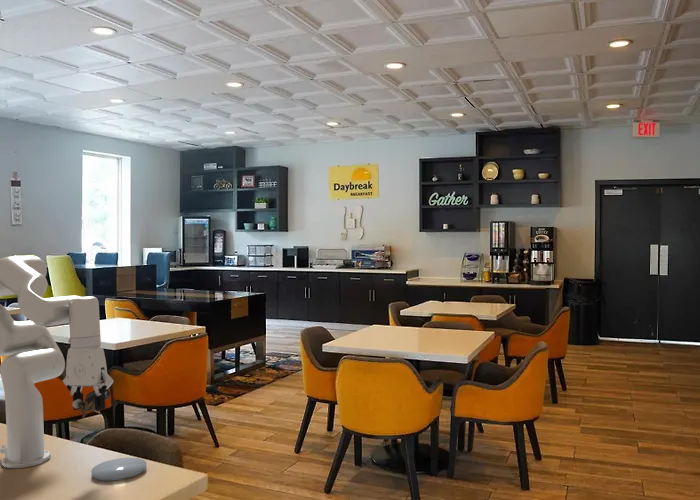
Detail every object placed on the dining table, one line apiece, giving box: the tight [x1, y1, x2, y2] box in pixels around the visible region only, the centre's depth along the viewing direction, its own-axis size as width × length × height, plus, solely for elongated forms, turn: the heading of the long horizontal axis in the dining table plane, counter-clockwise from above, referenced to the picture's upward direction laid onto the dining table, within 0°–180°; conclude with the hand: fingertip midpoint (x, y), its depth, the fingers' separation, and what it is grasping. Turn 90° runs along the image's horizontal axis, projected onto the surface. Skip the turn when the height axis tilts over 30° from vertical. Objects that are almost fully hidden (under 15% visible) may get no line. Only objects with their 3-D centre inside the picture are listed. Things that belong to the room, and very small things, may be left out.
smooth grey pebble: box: [90, 457, 147, 481], centre depth 169 cm, size 14×14×2 cm
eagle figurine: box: [72, 387, 111, 419], centre depth 169 cm, size 8×7×9 cm
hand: (89, 408), depth 167 cm, fingers closed on eagle figurine, 6 cm apart
